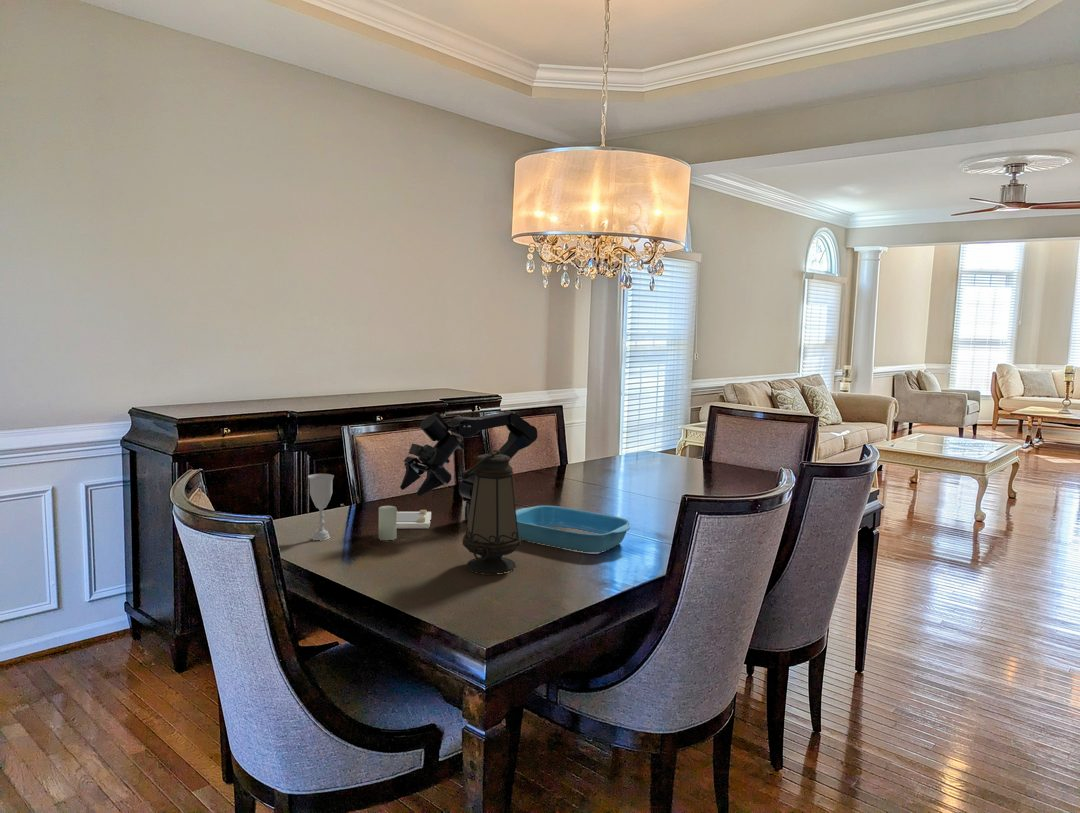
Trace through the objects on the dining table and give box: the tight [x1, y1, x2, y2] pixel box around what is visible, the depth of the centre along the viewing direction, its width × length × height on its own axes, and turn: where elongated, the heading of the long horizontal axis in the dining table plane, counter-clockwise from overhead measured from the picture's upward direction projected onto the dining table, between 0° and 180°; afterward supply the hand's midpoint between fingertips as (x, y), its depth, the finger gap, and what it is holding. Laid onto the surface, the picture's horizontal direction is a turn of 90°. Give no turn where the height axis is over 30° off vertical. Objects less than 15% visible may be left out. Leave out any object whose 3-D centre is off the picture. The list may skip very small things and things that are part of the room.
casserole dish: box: [516, 505, 631, 552], centre depth 211 cm, size 37×22×7 cm, turn 58°
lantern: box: [460, 449, 522, 574], centre depth 185 cm, size 18×15×30 cm
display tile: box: [396, 509, 432, 529], centre depth 225 cm, size 14×14×2 cm
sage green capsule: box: [378, 505, 398, 542], centre depth 208 cm, size 5×5×9 cm
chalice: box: [307, 473, 335, 542], centre depth 205 cm, size 7×7×18 cm
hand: (409, 492), depth 211 cm, fingers open, 9 cm apart
